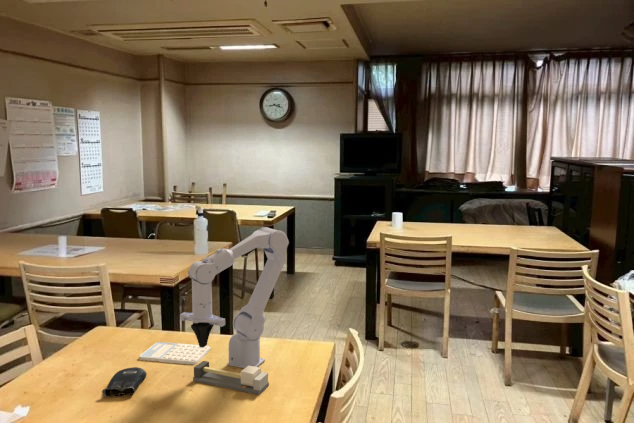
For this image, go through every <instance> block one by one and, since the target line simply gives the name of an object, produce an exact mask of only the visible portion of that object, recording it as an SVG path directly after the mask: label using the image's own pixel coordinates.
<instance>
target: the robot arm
mask: <svg viewBox="0 0 634 423" xmlns="http://www.w3.org/2000/svg"><path fill="white" fill-rule="evenodd" d="M289 244H290V241H289V239H288V236H287V234H286V232H284V231H282V230H280V229H279V230H277V229H274V228H270V227H268V226H263V227H261V228H259V229H257V230H255V231H253V233H251V234H250V235H249V236H247V237H246V238H244V239H242V240H241V241H239V242H238V243H236V245H234V246H232V247H230V248H229V249H227V248H218V249H216V250H215V251H216V252H214V253H213V254H211V255H209V256H207V257H206V256H205V257H203V258H202V261H201V260H197V261H194V262H193V263H192V264H191V265H190V267H189V270H188V271H187V274H188V277H189V278H190V279H191V303H192V304H191V306H192V310H191V311H192V312H185V311H184V312H182V313H180V317H179V318H180V321H188V322H192V324H191V325H190V328H191V330H192V331H193V333H194V334H195V337H196V340H197V344H198V345H199V347H205V346H208V340H209V336H210V335H211V331H212V330H213V327H214V326H218V327H220V328H222V327H225V326H226V318H223V317H220V316H217V315H215V314H213V298H212V297H213V289H212V288H213V287H212V284H213V283H212V282H213V280H214V279H215V278H216V277H215V276H216V275H218V274H220V273H221V272H222V271H224V270H226V269H228V268H230V267H231V266H233V265H234V263H235V259H237V258H240V257H241V256H243V255H245V254H247V253H249V252H251V251H253V250H255V249H257V248H258V249H262V250H263V251H264V254H265V255H266V258H267V260H266V262H265V263H264V266H263V270H262V271H261V274H260V276H259V278H258V280H257V282H256V285H255V287H254V289H253V292H252V294H251V296H250V298H249V300H248V303H247V304H246V305H244V306H242V307H241V308H240V310H239V312H238V314H236V315H235V317H234V318H233V320H232V327H233V329H234V330H235V331H236V334H232V335H231V336H230V338H229V341H228V362H227V365H228V366H230V367H231V366H232V367H236V368H241V369H244V368H246V367H247V366H248V365H249V366H254V367H259V366H260V365H261V364H262V363H264V362H265V361H266V359H265V358H261V357H260V354H261V352H260V351H261V350H260V349H261V348H260V347H261V345H260V343H261V342H260V339H261V336H262V334H263V332H264V324H265V322H266V320H267V319H266V316H265V315H266V314H265V312H264V311H265V308H266V306H267V304H268V301H269V299H270V297H271V294H272V292H273V291H274V287H275V285H276V283H277V282H278V280H279V277H280V275H281V272H282V270H283V268H284V264H285V263H286V261H287V249H288V246H289Z"/></svg>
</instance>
